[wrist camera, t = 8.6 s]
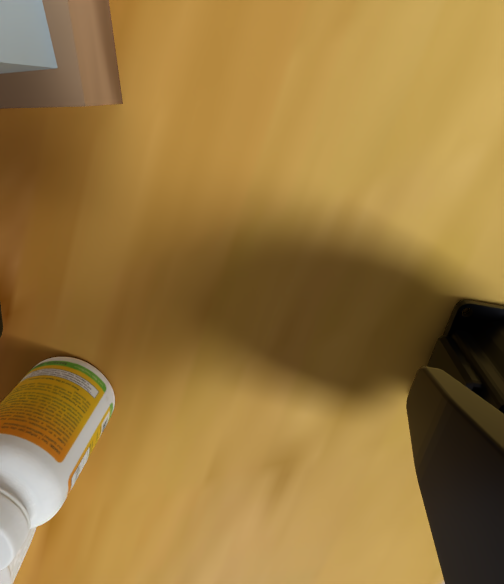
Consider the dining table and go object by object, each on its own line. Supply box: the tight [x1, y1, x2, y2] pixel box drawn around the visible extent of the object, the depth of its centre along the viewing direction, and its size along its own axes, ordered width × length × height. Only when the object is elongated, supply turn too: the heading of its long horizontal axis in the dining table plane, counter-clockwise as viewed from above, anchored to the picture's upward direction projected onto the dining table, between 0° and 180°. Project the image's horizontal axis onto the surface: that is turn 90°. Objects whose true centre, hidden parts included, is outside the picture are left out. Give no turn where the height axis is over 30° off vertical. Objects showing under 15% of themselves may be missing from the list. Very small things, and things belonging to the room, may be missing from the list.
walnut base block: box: [0, 0, 123, 108], centre depth 16 cm, size 6×6×4 cm
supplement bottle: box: [0, 357, 115, 570], centre depth 22 cm, size 5×5×10 cm
